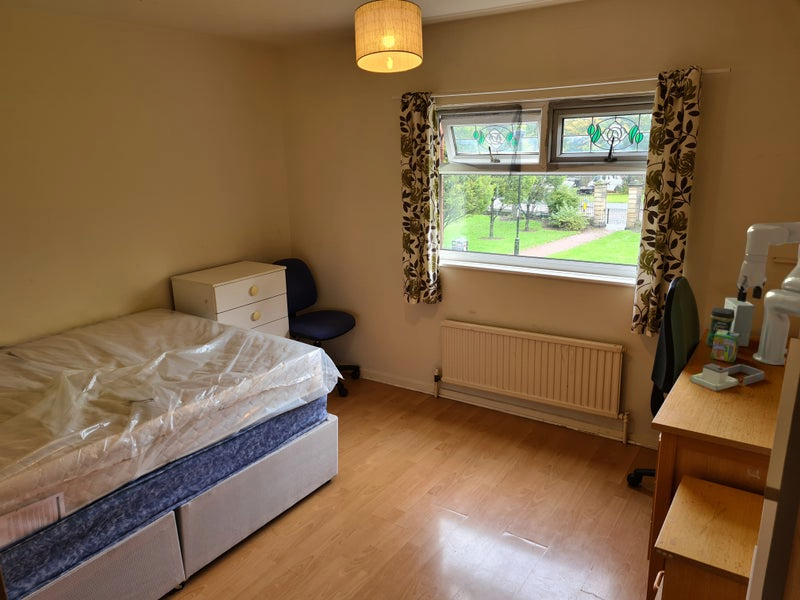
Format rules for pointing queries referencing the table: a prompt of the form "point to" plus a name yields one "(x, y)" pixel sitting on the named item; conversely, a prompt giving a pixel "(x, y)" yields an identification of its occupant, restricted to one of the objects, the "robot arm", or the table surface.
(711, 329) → the coffee jar
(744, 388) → the table surface
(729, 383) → the dock tray
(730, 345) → the chalk box
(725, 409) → the table surface
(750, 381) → the bay
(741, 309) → the hard drive box
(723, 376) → the grey box with knob
